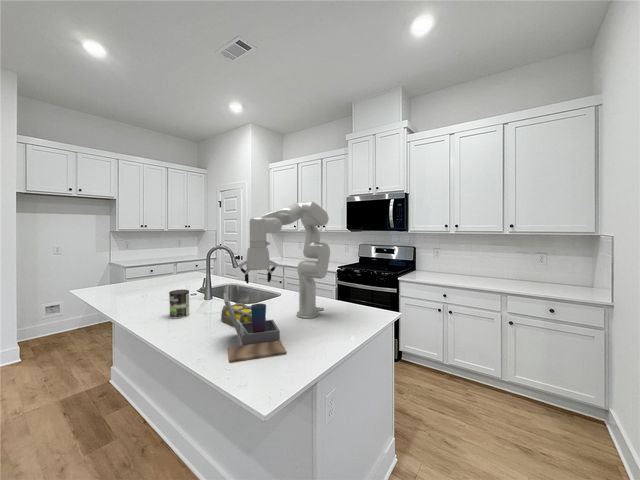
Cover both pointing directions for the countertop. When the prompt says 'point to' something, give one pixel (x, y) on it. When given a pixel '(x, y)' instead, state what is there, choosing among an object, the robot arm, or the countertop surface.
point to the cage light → (237, 314)
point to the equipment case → (259, 333)
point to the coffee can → (179, 303)
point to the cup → (258, 317)
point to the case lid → (232, 314)
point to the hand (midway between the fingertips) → (258, 282)
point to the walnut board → (255, 351)
